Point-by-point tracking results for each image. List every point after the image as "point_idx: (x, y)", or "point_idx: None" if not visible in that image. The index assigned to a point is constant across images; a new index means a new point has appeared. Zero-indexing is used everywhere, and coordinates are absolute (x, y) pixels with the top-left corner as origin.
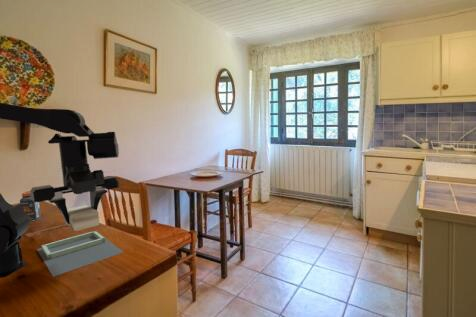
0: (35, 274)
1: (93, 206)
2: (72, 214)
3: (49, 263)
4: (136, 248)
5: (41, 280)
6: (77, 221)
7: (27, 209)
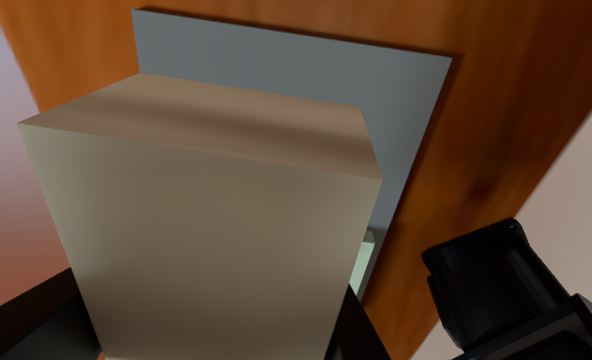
0: (452, 164)
1: (57, 319)
2: (321, 289)
3: (388, 196)
4: (68, 15)
5: (476, 89)
6: (329, 136)
7: None
